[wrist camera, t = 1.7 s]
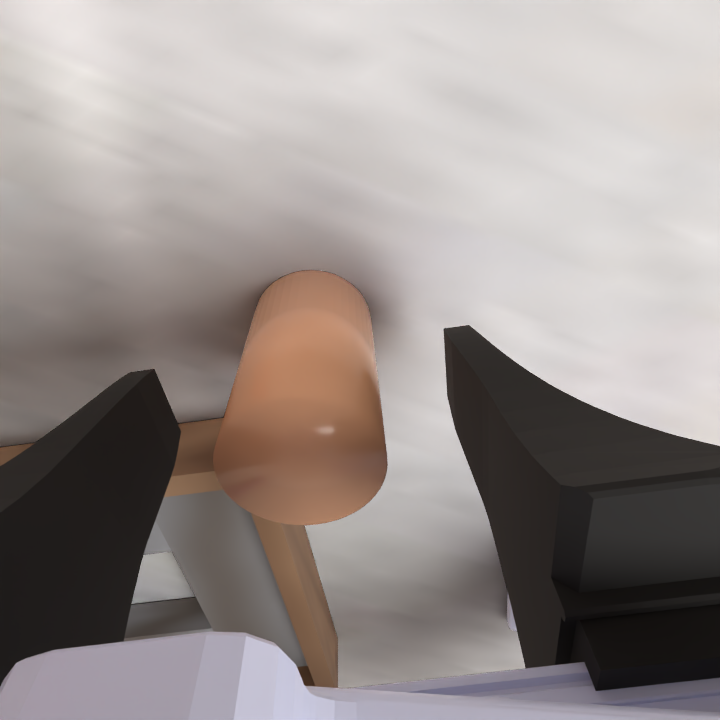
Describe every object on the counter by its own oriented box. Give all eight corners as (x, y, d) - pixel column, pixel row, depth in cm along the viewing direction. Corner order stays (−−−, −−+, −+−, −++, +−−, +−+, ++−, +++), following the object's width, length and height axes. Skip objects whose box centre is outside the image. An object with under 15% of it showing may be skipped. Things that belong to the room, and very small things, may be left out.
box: (270, 411, 17) (261, 464, 15) (337, 639, 25) (337, 695, 23) (-129, 464, 18) (-192, 522, 16) (55, 670, 25) (30, 728, 23)
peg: (363, 262, 14) (376, 386, 9) (377, 365, 16) (395, 514, 11) (240, 279, 15) (189, 411, 10) (269, 379, 16) (239, 533, 11)
